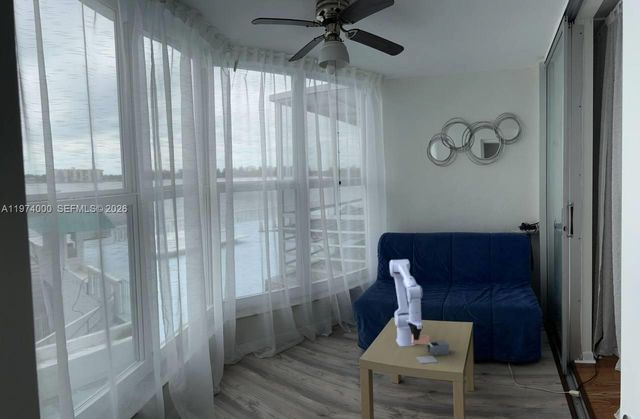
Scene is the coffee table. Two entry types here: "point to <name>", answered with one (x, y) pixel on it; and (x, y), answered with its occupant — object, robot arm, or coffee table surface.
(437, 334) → the coffee table surface
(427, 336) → the salmon pink brick
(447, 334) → the coffee table surface
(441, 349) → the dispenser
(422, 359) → the pad
